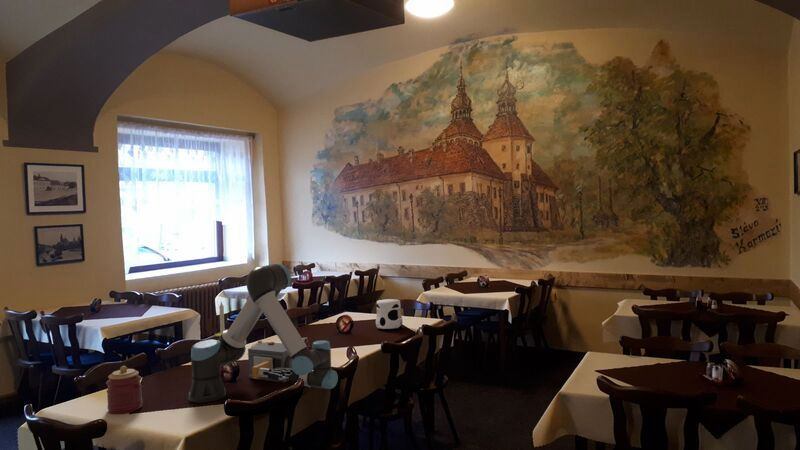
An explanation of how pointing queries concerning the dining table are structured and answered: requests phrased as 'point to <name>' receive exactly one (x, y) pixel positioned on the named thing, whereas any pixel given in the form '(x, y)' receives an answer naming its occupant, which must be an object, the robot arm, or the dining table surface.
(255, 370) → the side door
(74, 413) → the dining table surface
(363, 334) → the dining table surface
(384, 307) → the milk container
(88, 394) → the dining table surface
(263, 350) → the camera body
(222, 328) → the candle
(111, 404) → the canister
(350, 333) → the dining table surface
